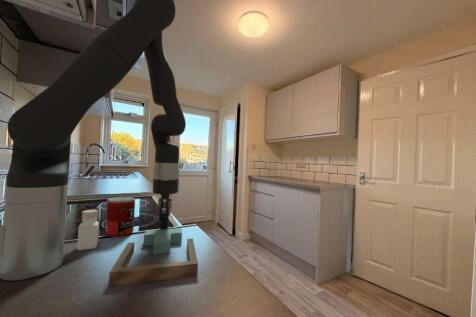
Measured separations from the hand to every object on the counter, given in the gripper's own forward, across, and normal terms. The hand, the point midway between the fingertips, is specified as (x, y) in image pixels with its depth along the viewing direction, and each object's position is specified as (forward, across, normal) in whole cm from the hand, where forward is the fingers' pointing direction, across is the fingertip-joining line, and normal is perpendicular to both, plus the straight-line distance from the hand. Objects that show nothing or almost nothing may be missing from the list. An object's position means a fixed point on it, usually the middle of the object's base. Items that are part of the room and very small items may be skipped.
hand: (163, 233), depth 62 cm
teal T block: (+1, +7, 0) cm, 7 cm away
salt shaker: (+1, +4, -18) cm, 19 cm away
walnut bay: (+1, +16, 0) cm, 16 cm away
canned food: (+1, -6, -13) cm, 15 cm away
